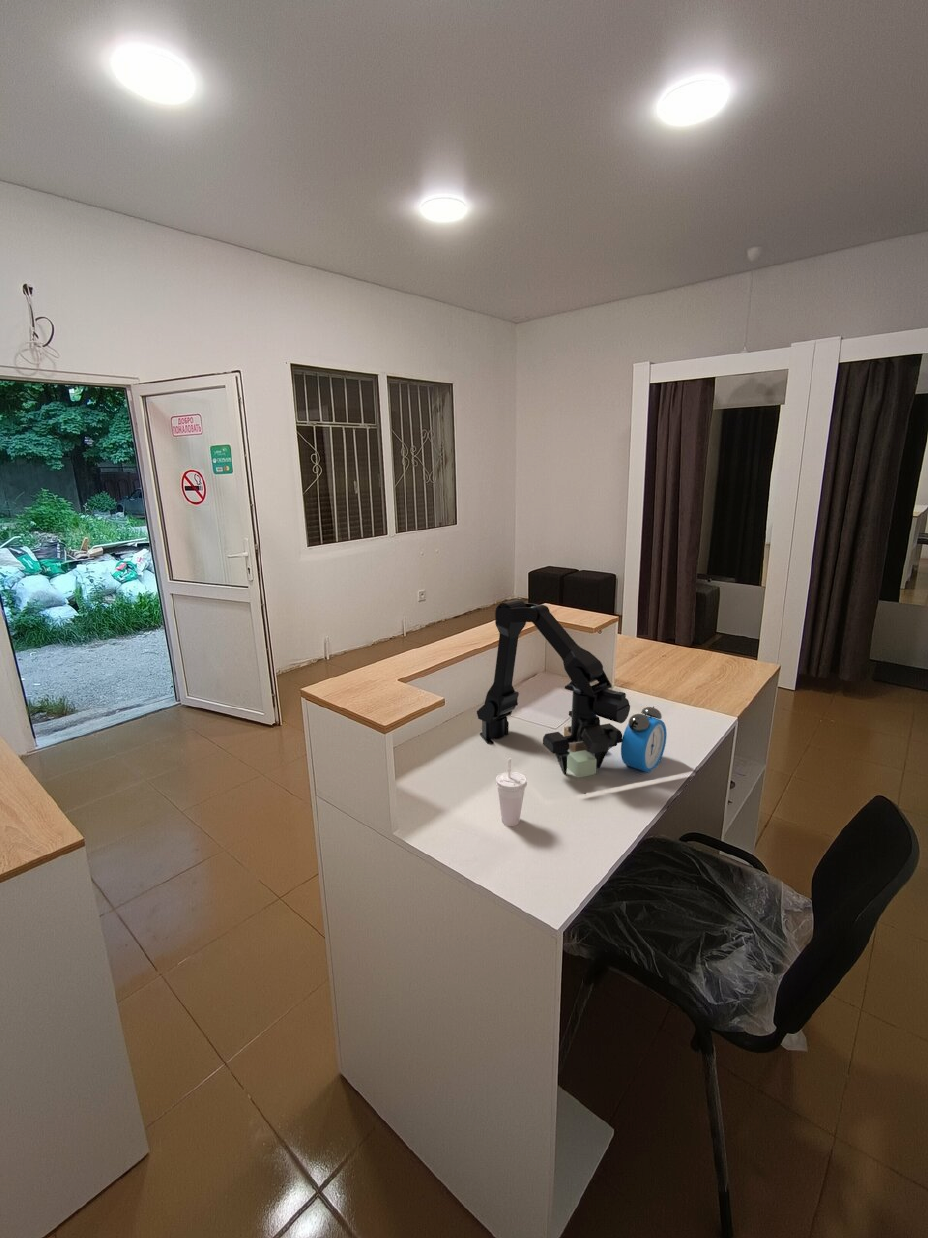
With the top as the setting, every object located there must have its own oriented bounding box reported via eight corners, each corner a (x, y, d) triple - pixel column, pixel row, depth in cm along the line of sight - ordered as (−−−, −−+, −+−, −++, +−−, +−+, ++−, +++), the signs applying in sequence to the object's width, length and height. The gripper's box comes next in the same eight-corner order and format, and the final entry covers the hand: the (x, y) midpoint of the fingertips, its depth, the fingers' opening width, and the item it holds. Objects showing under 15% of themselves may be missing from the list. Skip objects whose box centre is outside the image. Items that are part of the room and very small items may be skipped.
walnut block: (575, 754, 145) (576, 736, 144) (563, 744, 150) (564, 727, 149) (595, 750, 147) (596, 733, 145) (583, 741, 152) (584, 724, 151)
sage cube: (577, 781, 134) (578, 762, 132) (566, 772, 138) (567, 753, 137) (595, 778, 135) (596, 759, 134) (584, 768, 140) (585, 750, 139)
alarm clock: (641, 781, 133) (646, 722, 130) (617, 773, 137) (621, 715, 134) (665, 762, 143) (669, 706, 139) (642, 754, 147) (646, 700, 143)
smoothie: (506, 808, 122) (507, 749, 119) (531, 819, 118) (533, 758, 115) (489, 822, 117) (489, 760, 114) (514, 833, 113) (515, 770, 110)
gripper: (566, 729, 122) (563, 794, 126) (638, 718, 128) (634, 780, 132) (542, 710, 133) (540, 771, 136) (610, 700, 139) (607, 758, 142)
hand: (581, 770), depth 136 cm, fingers open, 9 cm apart
